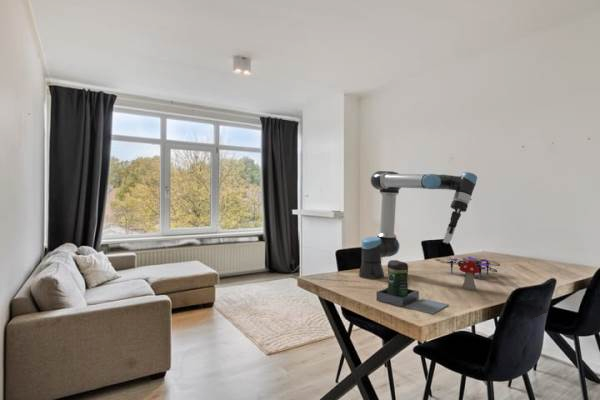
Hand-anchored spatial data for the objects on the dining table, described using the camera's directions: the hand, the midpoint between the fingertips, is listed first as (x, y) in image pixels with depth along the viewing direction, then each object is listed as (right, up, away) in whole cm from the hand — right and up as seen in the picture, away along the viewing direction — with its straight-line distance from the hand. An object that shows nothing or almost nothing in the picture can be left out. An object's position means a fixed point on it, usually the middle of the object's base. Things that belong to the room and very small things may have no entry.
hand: (446, 241), depth 165 cm
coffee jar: (-27, -27, -9) cm, 39 cm away
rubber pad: (-17, -26, -19) cm, 36 cm away
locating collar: (-27, -26, -9) cm, 39 cm away
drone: (+35, -26, +40) cm, 59 cm away
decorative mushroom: (+16, -26, +9) cm, 32 cm away
